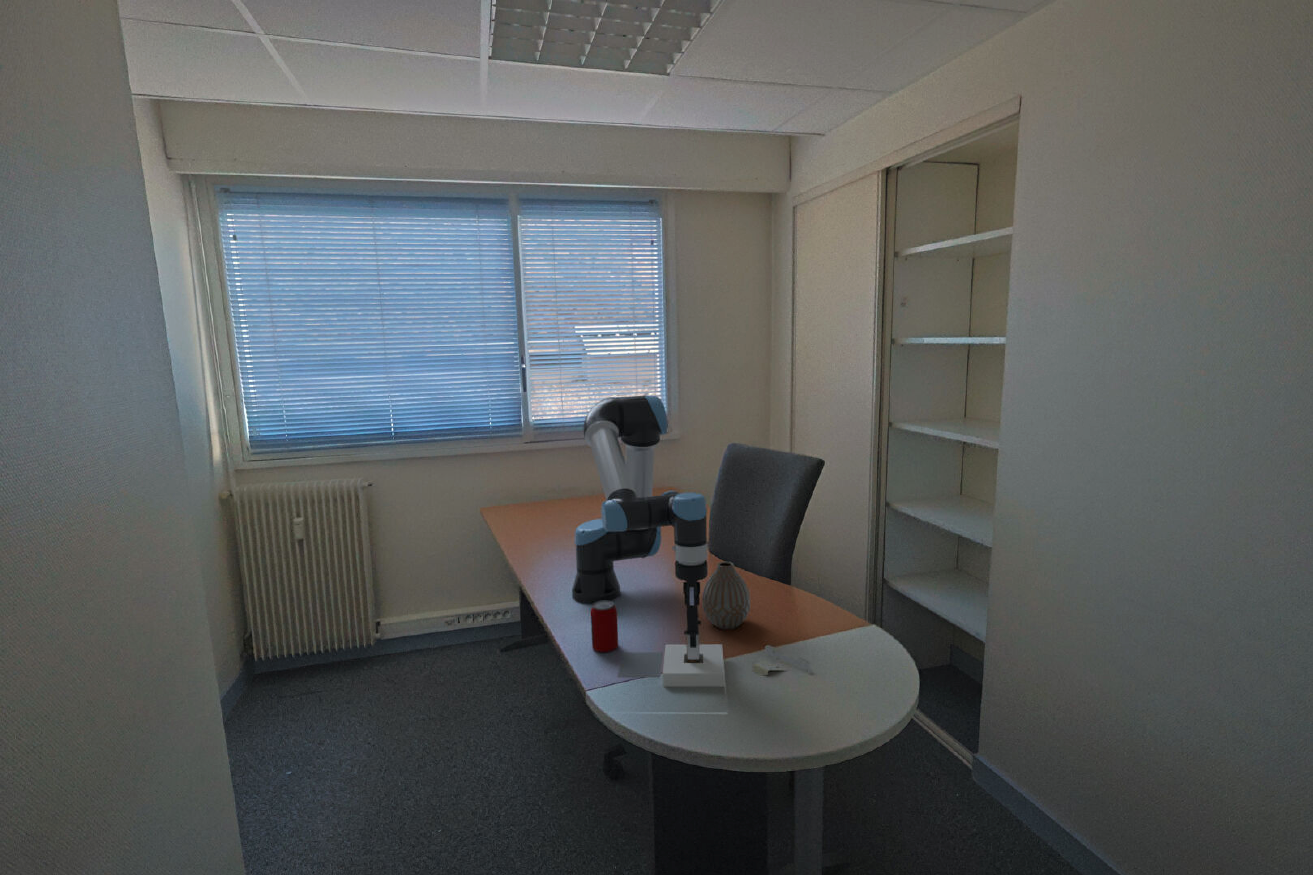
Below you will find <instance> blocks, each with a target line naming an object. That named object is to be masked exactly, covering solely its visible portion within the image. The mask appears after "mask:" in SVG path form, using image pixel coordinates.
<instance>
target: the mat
mask: <svg viewBox="0 0 1313 875" xmlns="http://www.w3.org/2000/svg"><path fill="white" fill-rule="evenodd" d="M662 658H663V652H660V651H659V652H650V651H649V652H644V651H643V652H639V651H637V652H636V651H635V652H633V651H631V652H627V651H626V652H622V656H621V662H620V664H619V669H618V672H617V673H618V674H617V678H661V669H662Z"/></svg>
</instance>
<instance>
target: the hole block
mask: <svg viewBox="0 0 1313 875" xmlns="http://www.w3.org/2000/svg"><path fill="white" fill-rule="evenodd" d="M664 646H665V649H664V656H663V658H664V659H663V667H662V686H663V687H715V688H716V687H721V688H722V687H726V684H725V682H726V678H725V663H724V652H723V651H724V650H723V644H705V643H704V644H700V643H699V653H700V663H687V644H665V645H664Z"/></svg>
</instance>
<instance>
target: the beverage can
mask: <svg viewBox="0 0 1313 875" xmlns="http://www.w3.org/2000/svg"><path fill="white" fill-rule="evenodd" d="M617 610H618V609H617V607H616V606H615V604H614V602H613V601H612V600H611V601H607V600H603V601H598V602H595V603H594V604H592V607H591V609H590V627H591V629H590V630H591V646H592V649H593V650H594V651H596V652H599V653H610V652H612V651H614V650H616V649H618V647H619V631H618V628H619V627H618V611H617Z"/></svg>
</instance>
